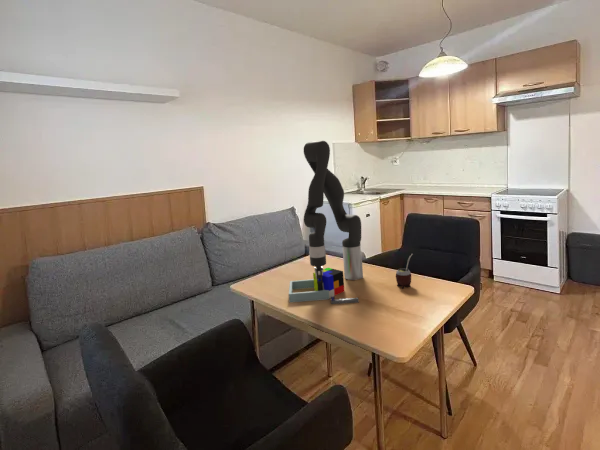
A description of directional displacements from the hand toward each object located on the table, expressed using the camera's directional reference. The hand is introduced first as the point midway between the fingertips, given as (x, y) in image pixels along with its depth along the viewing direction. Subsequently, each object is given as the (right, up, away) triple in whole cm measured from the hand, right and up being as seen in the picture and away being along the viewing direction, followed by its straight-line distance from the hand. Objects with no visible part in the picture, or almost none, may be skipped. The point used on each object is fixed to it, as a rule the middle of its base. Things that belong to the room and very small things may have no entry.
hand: (320, 287), depth 181 cm
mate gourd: (+40, +1, 0) cm, 40 cm away
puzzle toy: (+5, -2, 0) cm, 5 cm away
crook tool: (+10, -4, -12) cm, 16 cm away
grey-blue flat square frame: (-5, -3, +1) cm, 6 cm away
